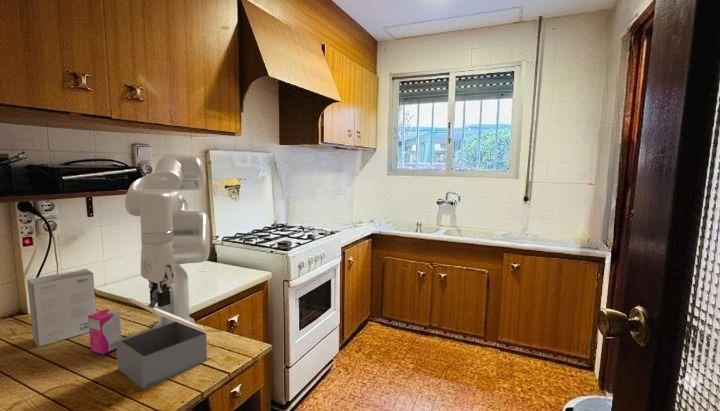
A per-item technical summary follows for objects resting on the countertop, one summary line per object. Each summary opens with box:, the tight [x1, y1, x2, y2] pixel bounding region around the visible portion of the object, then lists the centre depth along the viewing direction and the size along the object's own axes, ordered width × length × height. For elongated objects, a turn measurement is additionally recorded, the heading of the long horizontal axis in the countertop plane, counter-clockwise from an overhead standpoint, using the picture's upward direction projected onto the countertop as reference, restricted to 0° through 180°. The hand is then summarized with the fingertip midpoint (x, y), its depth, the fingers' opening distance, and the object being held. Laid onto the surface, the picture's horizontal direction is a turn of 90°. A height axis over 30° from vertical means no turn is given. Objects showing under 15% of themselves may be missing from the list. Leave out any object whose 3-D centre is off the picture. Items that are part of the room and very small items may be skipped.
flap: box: [128, 289, 208, 334], centre depth 102 cm, size 15×17×6 cm
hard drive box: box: [26, 268, 97, 348], centre depth 117 cm, size 16×8×20 cm, turn 141°
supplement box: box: [88, 308, 122, 357], centre depth 108 cm, size 6×6×12 cm
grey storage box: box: [116, 322, 208, 390], centre depth 100 cm, size 15×17×8 cm
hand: (160, 303), depth 99 cm, fingers closed on flap, 3 cm apart
